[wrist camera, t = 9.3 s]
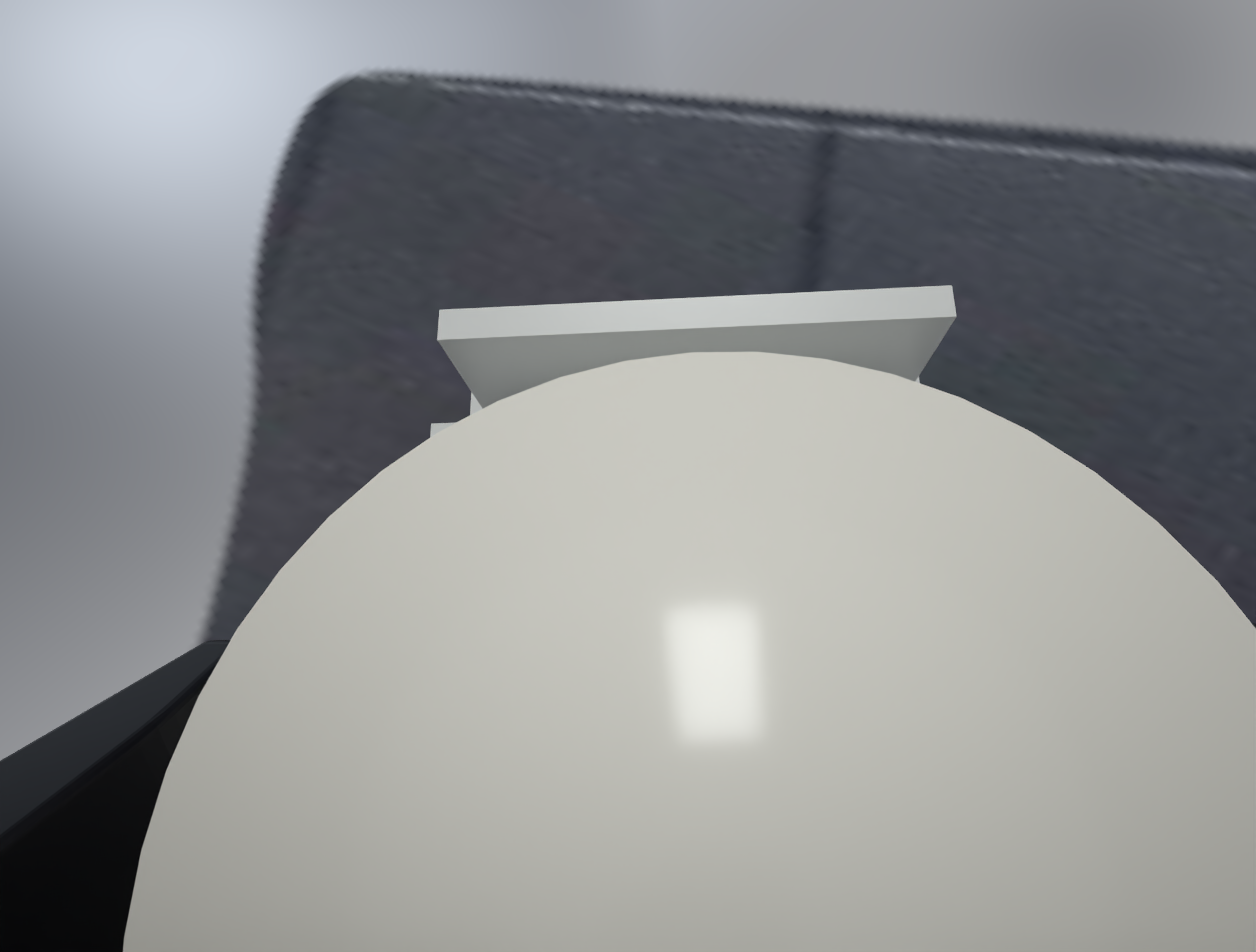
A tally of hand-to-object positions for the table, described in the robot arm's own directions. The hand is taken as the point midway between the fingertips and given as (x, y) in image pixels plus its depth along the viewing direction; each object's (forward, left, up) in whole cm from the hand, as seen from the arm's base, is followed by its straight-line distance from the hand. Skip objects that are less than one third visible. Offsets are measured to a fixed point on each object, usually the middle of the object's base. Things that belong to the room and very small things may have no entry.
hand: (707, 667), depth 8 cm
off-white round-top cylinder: (-1, -1, -9) cm, 9 cm away
